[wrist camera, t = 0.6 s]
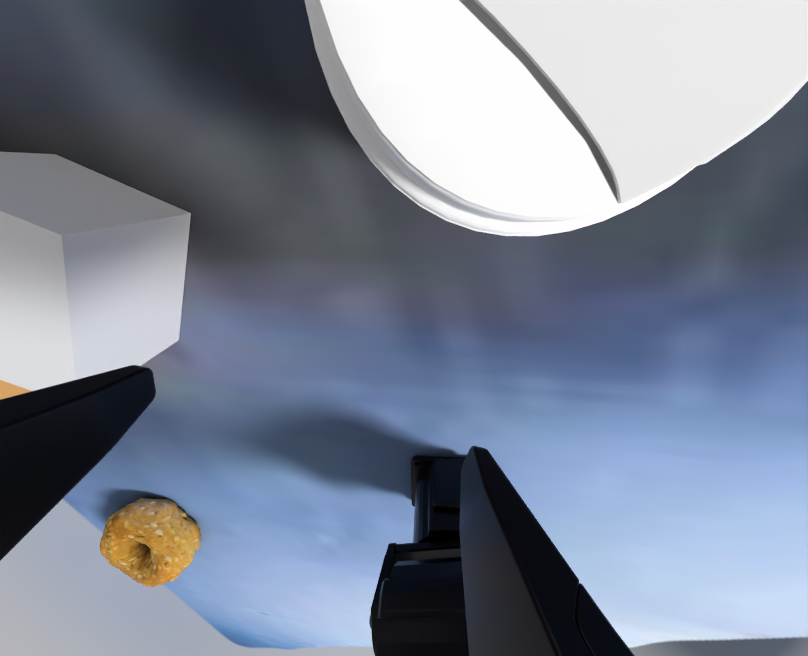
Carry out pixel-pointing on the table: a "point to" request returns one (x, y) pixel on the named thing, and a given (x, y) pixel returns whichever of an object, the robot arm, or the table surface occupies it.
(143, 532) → the bagel
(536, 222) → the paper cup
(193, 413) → the table surface
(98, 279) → the white block
